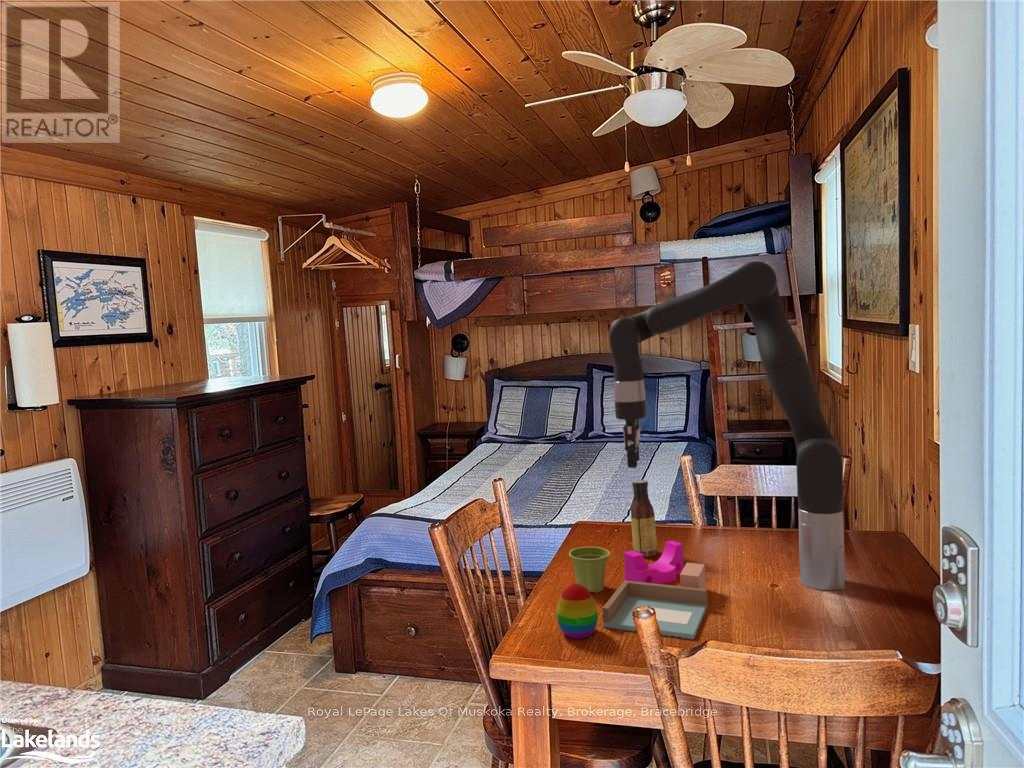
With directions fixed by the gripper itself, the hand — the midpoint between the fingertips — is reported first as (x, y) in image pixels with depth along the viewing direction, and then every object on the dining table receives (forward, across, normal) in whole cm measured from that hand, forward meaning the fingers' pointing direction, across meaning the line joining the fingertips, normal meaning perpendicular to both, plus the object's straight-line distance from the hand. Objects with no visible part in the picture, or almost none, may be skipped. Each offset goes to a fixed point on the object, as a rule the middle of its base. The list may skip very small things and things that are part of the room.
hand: (633, 464), depth 168 cm
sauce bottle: (+27, +12, -1) cm, 29 cm away
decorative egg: (+27, -37, +10) cm, 47 cm away
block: (+27, -15, -13) cm, 34 cm away
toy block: (+27, -6, -5) cm, 28 cm away
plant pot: (+27, -14, +10) cm, 32 cm away
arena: (+27, -28, -5) cm, 39 cm away
